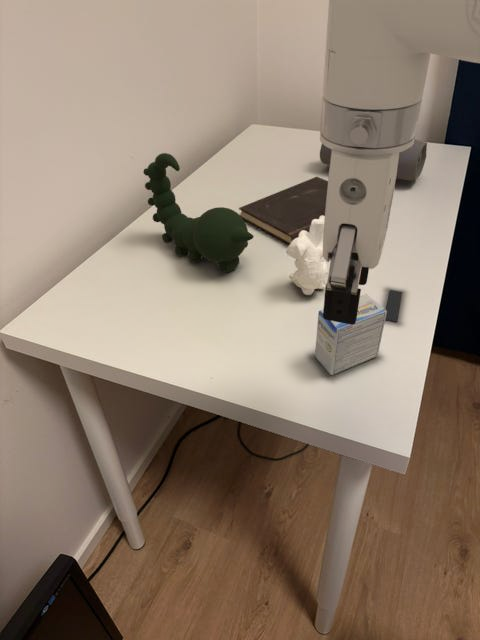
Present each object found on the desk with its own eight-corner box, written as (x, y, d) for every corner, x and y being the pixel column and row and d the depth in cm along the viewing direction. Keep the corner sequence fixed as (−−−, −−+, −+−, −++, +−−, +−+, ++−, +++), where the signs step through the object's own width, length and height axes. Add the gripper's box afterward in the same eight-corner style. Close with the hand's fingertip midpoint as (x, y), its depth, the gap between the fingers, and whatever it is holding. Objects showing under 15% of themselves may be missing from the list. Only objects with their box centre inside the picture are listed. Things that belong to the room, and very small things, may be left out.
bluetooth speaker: (422, 177, 114) (431, 134, 108) (410, 192, 108) (419, 147, 102) (332, 160, 124) (336, 120, 118) (317, 173, 118) (320, 132, 112)
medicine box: (359, 339, 71) (366, 291, 66) (378, 358, 68) (388, 309, 63) (313, 357, 69) (317, 309, 63) (331, 377, 66) (337, 328, 60)
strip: (402, 292, 80) (402, 291, 79) (397, 322, 74) (397, 321, 74) (389, 290, 80) (390, 289, 80) (383, 320, 74) (383, 319, 74)
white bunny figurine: (306, 269, 86) (309, 207, 78) (339, 282, 82) (346, 219, 75) (277, 292, 81) (278, 228, 73) (311, 307, 78) (316, 241, 70)
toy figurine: (147, 253, 95) (238, 293, 80) (124, 157, 84) (224, 182, 69) (183, 235, 100) (275, 269, 85) (166, 142, 89) (267, 162, 74)
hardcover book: (239, 217, 102) (238, 207, 100) (316, 185, 113) (316, 176, 111) (291, 246, 92) (292, 236, 91) (370, 208, 103) (372, 198, 101)
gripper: (407, 166, 31) (370, 364, 43) (424, 94, 44) (392, 262, 55) (295, 156, 34) (288, 346, 45) (341, 89, 46) (327, 252, 57)
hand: (345, 298), depth 50 cm, fingers open, 6 cm apart
